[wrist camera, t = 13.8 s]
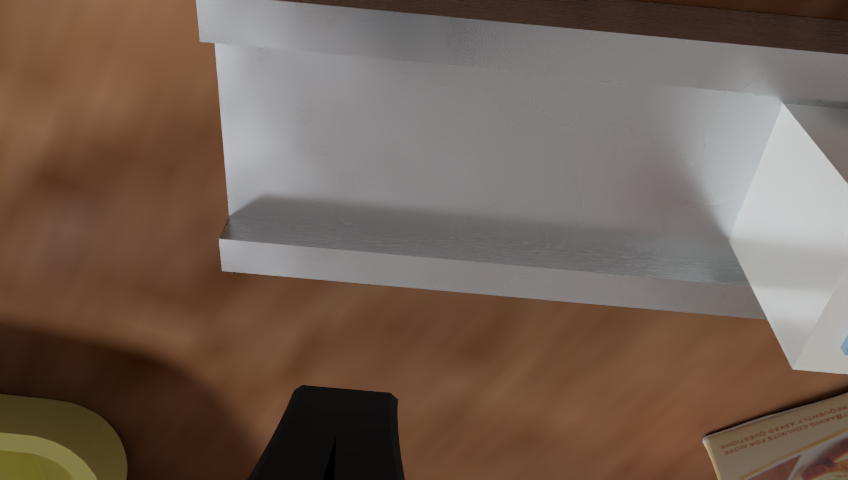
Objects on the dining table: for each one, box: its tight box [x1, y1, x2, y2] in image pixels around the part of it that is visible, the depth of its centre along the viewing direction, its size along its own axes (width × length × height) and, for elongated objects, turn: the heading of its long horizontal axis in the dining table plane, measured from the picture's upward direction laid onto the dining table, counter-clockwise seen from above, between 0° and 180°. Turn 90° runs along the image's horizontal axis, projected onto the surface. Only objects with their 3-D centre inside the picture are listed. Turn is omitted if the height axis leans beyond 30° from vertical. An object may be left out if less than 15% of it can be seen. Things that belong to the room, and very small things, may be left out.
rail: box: [196, 0, 848, 320], centre depth 17 cm, size 7×20×5 cm, turn 85°
